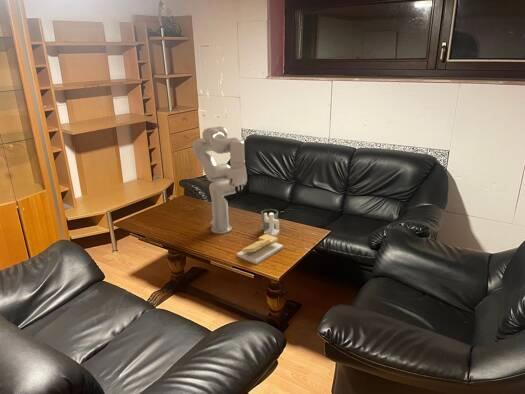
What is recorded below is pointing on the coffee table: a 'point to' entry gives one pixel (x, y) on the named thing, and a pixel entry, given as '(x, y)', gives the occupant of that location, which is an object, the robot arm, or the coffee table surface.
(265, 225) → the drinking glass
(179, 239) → the coffee table surface
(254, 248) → the key
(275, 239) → the key
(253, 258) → the board
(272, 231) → the figurine
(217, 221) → the robot arm
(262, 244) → the key
